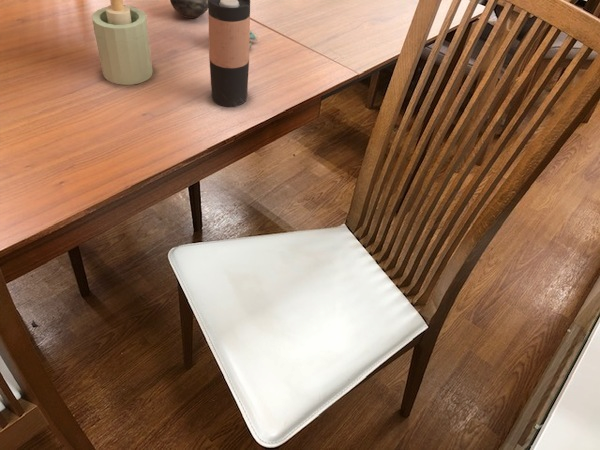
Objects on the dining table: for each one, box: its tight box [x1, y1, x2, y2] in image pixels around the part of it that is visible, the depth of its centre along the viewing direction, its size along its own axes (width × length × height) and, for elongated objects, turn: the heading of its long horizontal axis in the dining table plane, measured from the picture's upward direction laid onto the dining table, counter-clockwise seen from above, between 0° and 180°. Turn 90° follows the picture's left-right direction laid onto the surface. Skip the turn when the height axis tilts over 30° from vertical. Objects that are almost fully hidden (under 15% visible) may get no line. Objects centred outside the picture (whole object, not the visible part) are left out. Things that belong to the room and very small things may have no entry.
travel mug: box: [207, 0, 251, 108], centre depth 97 cm, size 8×8×20 cm
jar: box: [91, 5, 154, 86], centre depth 103 cm, size 10×10×12 cm
